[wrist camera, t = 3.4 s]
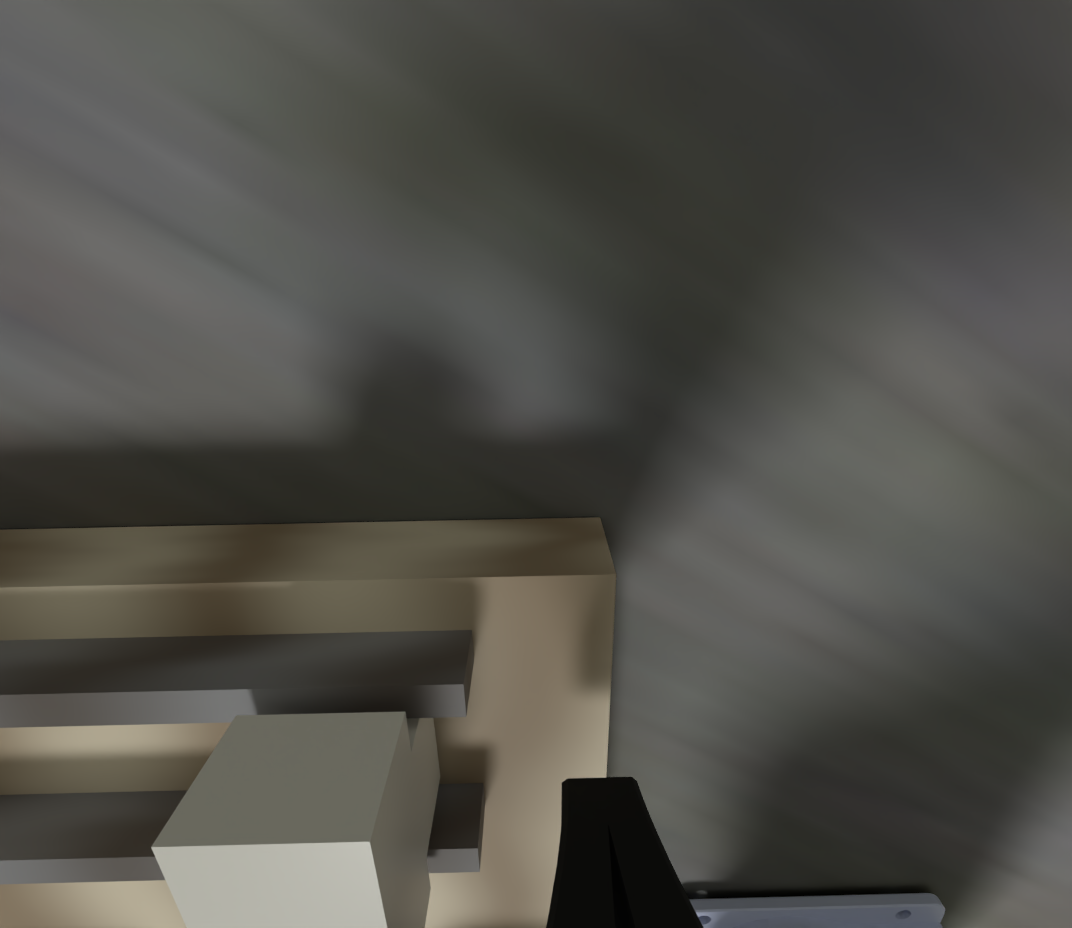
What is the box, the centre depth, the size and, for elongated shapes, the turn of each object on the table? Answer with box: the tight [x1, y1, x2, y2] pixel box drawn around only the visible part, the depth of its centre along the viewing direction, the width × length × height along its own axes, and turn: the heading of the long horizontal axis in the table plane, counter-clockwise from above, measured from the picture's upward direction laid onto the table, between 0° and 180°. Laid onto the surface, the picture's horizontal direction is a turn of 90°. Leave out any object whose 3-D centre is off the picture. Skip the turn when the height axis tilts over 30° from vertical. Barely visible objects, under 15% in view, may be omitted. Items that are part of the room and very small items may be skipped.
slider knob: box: [151, 712, 440, 928], centre depth 10 cm, size 3×5×4 cm, turn 1°
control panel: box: [0, 517, 616, 928], centre depth 15 cm, size 18×24×4 cm
